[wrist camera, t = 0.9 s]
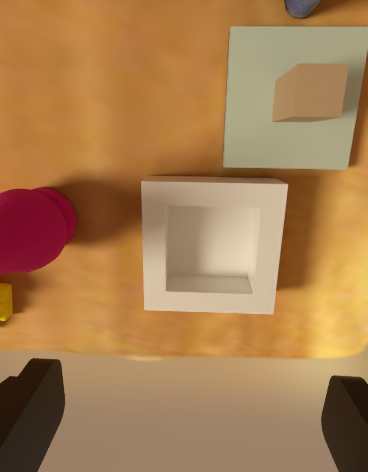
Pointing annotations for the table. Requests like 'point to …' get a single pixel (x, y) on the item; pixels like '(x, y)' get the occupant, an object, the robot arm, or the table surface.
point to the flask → (300, 7)
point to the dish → (212, 243)
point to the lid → (293, 96)
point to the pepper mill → (33, 228)
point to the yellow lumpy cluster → (5, 301)
